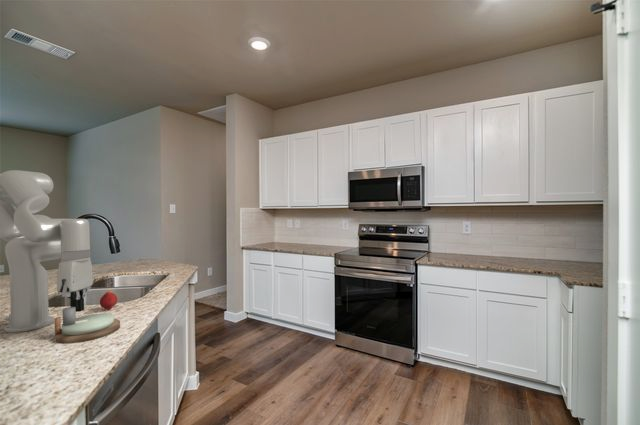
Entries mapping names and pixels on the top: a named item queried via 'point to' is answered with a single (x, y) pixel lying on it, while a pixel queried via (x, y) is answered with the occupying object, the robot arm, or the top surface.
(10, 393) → the top surface
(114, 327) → the base plate
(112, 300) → the onion
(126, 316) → the top surface
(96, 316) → the turntable
